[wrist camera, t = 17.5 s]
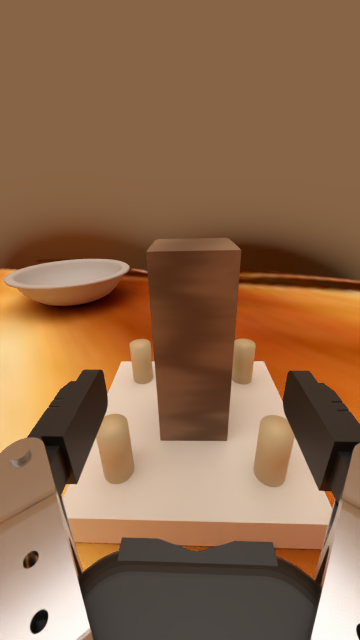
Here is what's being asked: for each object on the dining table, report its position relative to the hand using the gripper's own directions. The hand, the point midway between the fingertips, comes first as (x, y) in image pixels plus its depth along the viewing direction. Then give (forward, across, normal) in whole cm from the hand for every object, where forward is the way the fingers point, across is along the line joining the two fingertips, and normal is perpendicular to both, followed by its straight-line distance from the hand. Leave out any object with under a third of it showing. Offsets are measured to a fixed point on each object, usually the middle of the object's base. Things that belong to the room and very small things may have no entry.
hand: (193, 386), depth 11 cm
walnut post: (+7, 0, +9) cm, 12 cm away
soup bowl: (+43, +25, +12) cm, 51 cm away
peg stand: (+7, 0, +12) cm, 14 cm away
